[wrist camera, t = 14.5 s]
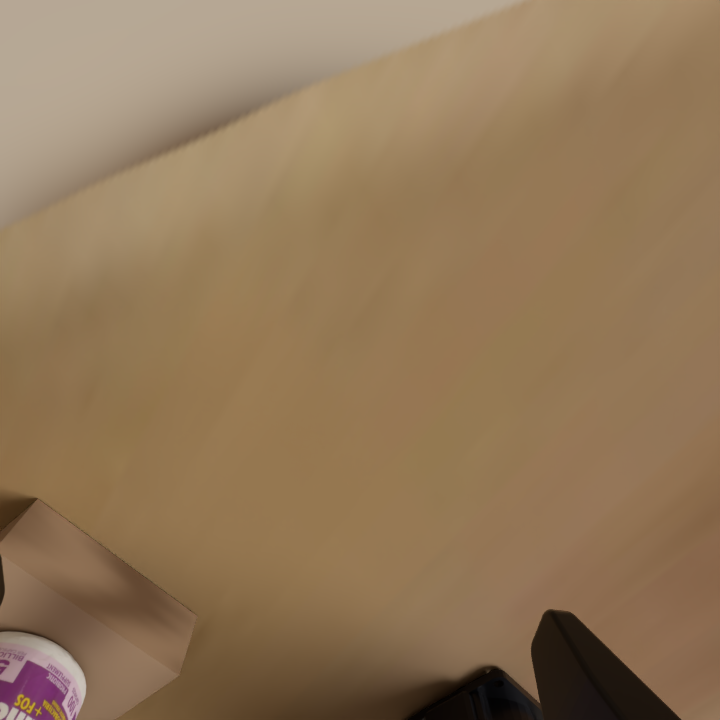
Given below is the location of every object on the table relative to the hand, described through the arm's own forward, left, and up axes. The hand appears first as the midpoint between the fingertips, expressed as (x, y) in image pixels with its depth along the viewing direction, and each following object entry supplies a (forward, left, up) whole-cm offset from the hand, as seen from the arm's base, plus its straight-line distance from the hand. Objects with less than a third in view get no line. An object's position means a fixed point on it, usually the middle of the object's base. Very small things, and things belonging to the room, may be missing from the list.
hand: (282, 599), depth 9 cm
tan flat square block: (-2, +18, -12) cm, 22 cm away
